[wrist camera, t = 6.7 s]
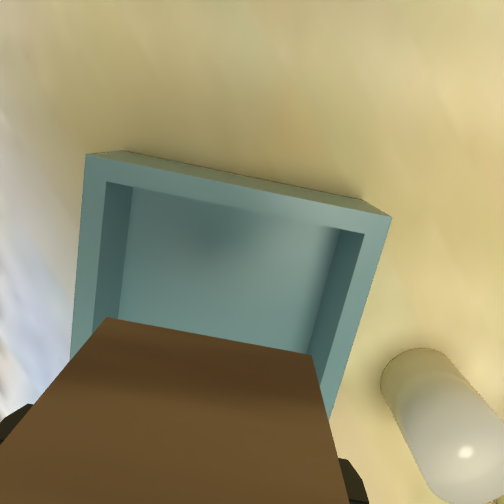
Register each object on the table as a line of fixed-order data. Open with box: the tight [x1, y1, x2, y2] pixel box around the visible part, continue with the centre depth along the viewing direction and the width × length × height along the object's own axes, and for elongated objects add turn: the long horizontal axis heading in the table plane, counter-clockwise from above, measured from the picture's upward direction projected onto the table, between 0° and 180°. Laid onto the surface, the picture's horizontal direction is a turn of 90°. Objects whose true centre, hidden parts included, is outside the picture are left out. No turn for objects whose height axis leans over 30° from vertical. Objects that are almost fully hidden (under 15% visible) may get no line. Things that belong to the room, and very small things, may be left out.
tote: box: [70, 151, 392, 421], centre depth 22 cm, size 18×14×5 cm
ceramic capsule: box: [380, 348, 504, 504], centre depth 23 cm, size 5×5×7 cm
